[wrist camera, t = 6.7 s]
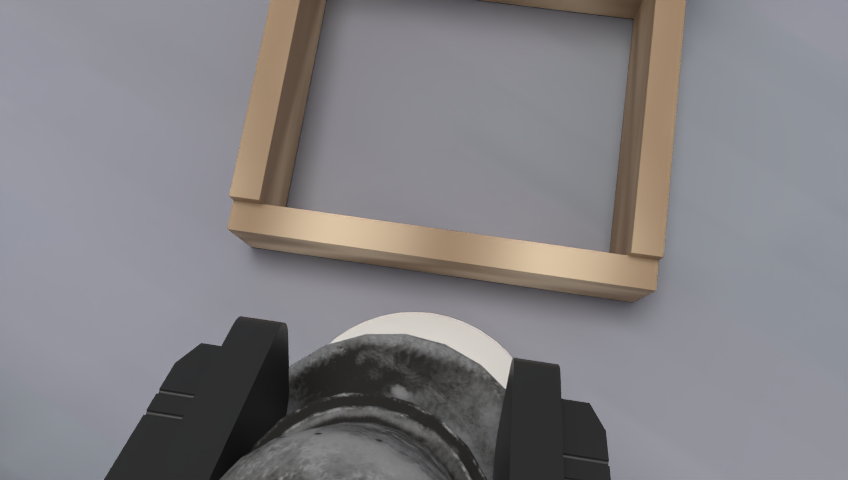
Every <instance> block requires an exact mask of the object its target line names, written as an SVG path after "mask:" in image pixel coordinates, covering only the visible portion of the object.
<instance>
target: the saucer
mask: <svg viewBox="0 0 848 480" xmlns="http://www.w3.org/2000/svg"><path fill="white" fill-rule="evenodd" d="M365 334H408V335H412V336H416V337H420V338H423V339H427V340H431V341H435V342H438V343H442V344H446V345H447V346H449V347H451V348H453V349H454V350H456V351H458V352H460V353H461V354H463V355H465V356H467V357H468V358H470V359H472V360H473V361H475V362H477V363H479V364H480V365H482V366H483V367H484V368H485V369H486V370H487V371H488V372H489V373H490V374H491V375H492V376H493V377H494V378H495V379H496V380H497V381H498V382H499V383H500V384H501V385H502V386H503V387H504V388H505V389H506V386H507V381H508V376H509V371H510V366H511V362H512V359H513V358H512V357H511V356H510V354H509V353H508V352H507V351H506V350H505V349H504V348H503V347H501V346H500V345H499V344H498V343H497V342H496V341H495V340H494V339H492V338H491V337H489V336H488V335H486V334H485V333H483V332H482V331H480V330H479V329H477V328H475V327H473V326H471V325H469V324H467V323H465V322H462V321H459V320H457V319H454V318H451V317H448V316H443V315H438V314H434V313H424V312H403V313H395V314H389V315H384V316H380V317H377V318H374V319H371V320H368V321H365V322H363V323H361V324H359V325H357V326H355V327H352V328H351V329H349V330H347V331H346V332H344V333H343V334H341V335H340V336H338V337H337V338H335V339H334V340H333V341H332V342H331V343H335V342H339V341H342V340H346V339H350V338H353V337H357V336H361V335H365ZM331 343H329V344H331Z"/></svg>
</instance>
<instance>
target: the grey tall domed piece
mask: <svg viewBox="0 0 848 480" xmlns="http://www.w3.org/2000/svg"><path fill="white" fill-rule="evenodd" d="M505 391H506V389H505V388H504V387H503V386H502V385H501V384H500V383H499V382H498V381H497V380H496V379H495V378H494V377H493V376H492V375H491V374H490V373H489V372H488V371H487V370H486V369H485V368H484V367H483V366H482V365H480V364H479V363H477V362H475V361H473V360H472V359H470V358H468V357H467V356H465V355H463V354H461V353H460V352H458V351H456V350H454V349H453V348H451V347H449V346H447V345H446V344H442V343H438V342H435V341H431V340H427V339H423V338H420V337H416V336H412V335H408V334H365V335H361V336H357V337H353V338H350V339H346V340H342V341H339V342H335V343H331V344H328V345H326V346H324V347H322V348H320V349H319V350H317V351H315V352H313V353H312V354H310V355H308V356H306V357H305V358H303V359H301V360H300V361H298V362H296V363H294V364H293V365H291V366H290V367H289V402H288V408H287V414H286V416H285V417H283V418H281V419H280V420H279V421H278V422H277V423H276V424H275V425H274V426H273V427H272V428H271V429H270V430H269V431H268V432H267V433H266V434H265V435H264V436H263V437H262V438H261V439H260V440H259V441H258V442H257V443H256V444H255V445H254V447H253V448H252V450H251V452H250V453H249V454H247V455H245V456H243V457H242V458H240V459H239V460H238V461H237V462H236V463H235V464H234V465H233V466H232V467H231V468H230V469H229V470H228V471H227V472H226V473H225V474H224V475H223V476H222V477H221V478H220V479H219V480H493V469H494V456H495V447H496V439H497V432H498V426H499V421H500V416H501V411H502V406H503V401H504V396H505Z"/></svg>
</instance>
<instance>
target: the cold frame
mask: <svg viewBox="0 0 848 480" xmlns="http://www.w3.org/2000/svg"><path fill="white" fill-rule="evenodd" d="M481 1H490V2H498V3H506V4H514V5H522V6H531V7H539V8H547V9H555V10H563V11H572V12H580V13H588V14H596V15H604V16H613V17H621V18H629V19H633V28H632V38H631V48H630V58H629V67H628V77H627V87H626V97H625V106H624V116H623V126H622V136H621V145H620V155H619V165H618V175H617V184H616V194H615V204H614V214H613V223H612V233H611V243H610V253H607V252H599V251H592V250H585V249H578V248H571V247H564V246H557V245H550V244H543V243H536V242H529V241H522V240H514V239H507V238H500V237H493V236H486V235H479V234H472V233H465V232H458V231H451V230H444V229H437V228H429V227H422V226H415V225H408V224H401V223H394V222H387V221H380V220H373V219H366V218H359V217H352V216H345V215H337V214H330V213H323V212H316V211H309V210H302V209H295V208H288V207H286V205H287V200H288V195H289V189H290V184H291V179H292V174H293V169H294V164H295V159H296V154H297V149H298V143H299V138H300V133H301V128H302V123H303V118H304V113H305V108H306V102H307V97H308V92H309V87H310V82H311V77H312V72H313V67H314V61H315V56H316V51H317V46H318V41H319V36H320V31H321V26H322V20H323V15H324V10H325V5H326V0H271V1H270V5H269V10H268V15H267V20H266V24H265V29H264V34H263V38H262V43H261V48H260V53H259V57H258V62H257V67H256V71H255V76H254V81H253V86H252V90H251V95H250V100H249V104H248V109H247V114H246V119H245V123H244V128H243V133H242V137H241V142H240V147H239V152H238V156H237V161H236V166H235V170H234V175H233V180H232V185H231V189H230V194H229V196H230V197H231V198H232V199H233V204H232V209H231V214H230V219H229V223H228V228H227V229H228V230H229V231H231V232H232V233H233V234H235V235H236V236H237V237H239V238H240V239H241V240H243V241H244V242H245V243H247V244H248V245H249V246H250V247H255V248H262V249H269V250H276V251H283V252H289V253H296V254H303V255H310V256H317V257H324V258H331V259H338V260H345V261H351V262H358V263H365V264H372V265H379V266H386V267H393V268H400V269H407V270H414V271H420V272H427V273H434V274H441V275H448V276H455V277H462V278H469V279H476V280H483V281H489V282H496V283H503V284H510V285H517V286H524V287H531V288H538V289H545V290H552V291H558V292H565V293H572V294H579V295H586V296H593V297H600V298H607V299H614V300H621V301H627V302H634V301H636V300H638V299H640V298H642V297H644V296H646V295H648V294H650V293H652V292H654V291H656V288H657V277H658V265H659V260H660V259H661V258H663V257H664V245H665V234H666V222H667V211H668V200H669V188H670V177H671V165H672V154H673V142H674V131H675V119H676V108H677V97H678V85H679V74H680V62H681V51H682V39H683V28H684V17H685V5H686V0H481Z"/></svg>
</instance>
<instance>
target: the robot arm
mask: <svg viewBox="0 0 848 480" xmlns="http://www.w3.org/2000/svg"><path fill="white" fill-rule="evenodd" d="M288 402H289V356H288V329H287V325H286V323H282V322H275V321H269V320H262V319H255V318H249V317H242V316H241V317H239V318H237V320H236V321H235V323H234V324H233V326H232V328H231V330H230V331H229V333H228V335H227V337H226V339H225V341H224V342H223V344H222V346H216V345H210V344H203V343H201V344H199V345H198V346H197V347H196V348H194V349H193V350H192V351H190V352H189V353H188V354H186V355H185V356H184V357H183V358H181V359H180V360H179V361H177V362H176V363H175V364H174V366H173V367H172V369H171V371H170V372H169V374H168V376H167V377H166V379H165V381H164V382H163V384H162V385H161V387H160V391H159V394H156V395H155V397H154V399H153V400H152V402H151V404H150V405H149V407H148V408H147V413H146V415H143V417H142V418H141V420H140V422H139V423H138V425H137V426H136V428H135V430H134V431H133V433H132V435H131V436H130V438H129V440H128V441H127V443H126V445H125V446H124V448H123V449H122V451H121V453H120V454H119V456H118V458H117V459H116V461H115V463H114V464H113V466H112V467H111V469H110V471H109V472H108V474H107V476H106V477H105V479H104V480H219V479H220V478H221V477H222V476H223V475H224V474H225V473H226V472H227V471H228V470H229V469H230V468H231V467H232V466H233V465H234V464H235V463H236V462H237V461H238V460H239V459H240V458H242V457H243V456H245V455H247V454H249V453H250V452H251V450H252V448H253V447H254V445H255V444H256V443H257V442H258V441H259V440H260V439H261V438H262V437H263V436H264V435H265V434H266V433H267V432H268V431H269V430H270V429H271V428H272V427H273V426H274V425H275V424H276V423H277V422H278V421H279V420H280V419H281V418H283V417H285V416H286V414H287V408H288ZM608 461H609V458H608V449H607V439H606V430H605V429H604V427H603V425H602V424H601V422H600V420H599V419H598V417H597V415H596V414H595V412H594V410H593V408H592V407H591V405H590V403H585V402H578V401H572V400H565V399H561V380H560V367H559V365H558V364H551V363H545V362H538V361H532V360H525V359H518V358H513V359H512V362H511V366H510V371H509V376H508V381H507V386H506V391H505V396H504V401H503V406H502V411H501V416H500V421H499V426H498V432H497V439H496V447H495V456H494V469H493V480H611V478H610V468H609V466H608Z"/></svg>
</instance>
